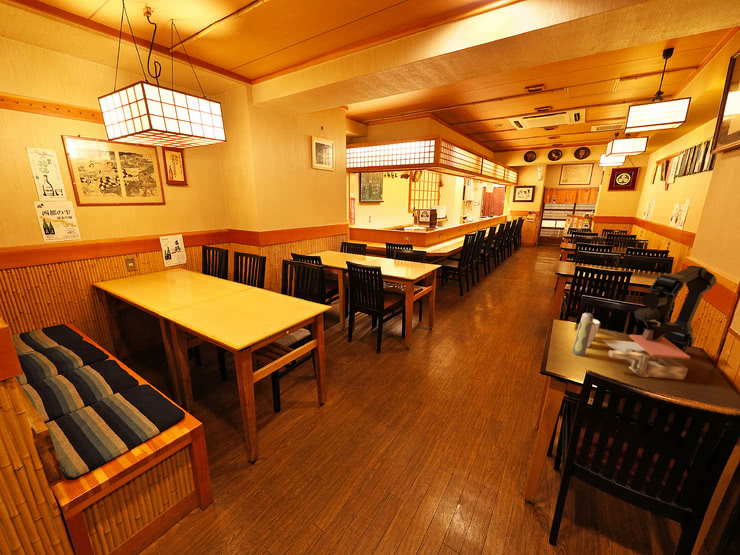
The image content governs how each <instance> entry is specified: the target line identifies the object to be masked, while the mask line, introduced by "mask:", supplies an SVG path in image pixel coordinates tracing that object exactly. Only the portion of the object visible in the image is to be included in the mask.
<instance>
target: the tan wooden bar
mask: <svg viewBox="0 0 740 555" xmlns="http://www.w3.org/2000/svg"><path fill="white" fill-rule="evenodd" d="M643 355H645V354H643V353H637V352H625V351H615V350H614V349H613V350H611V349H610V350H608V353H607V356H608V357H610V358H611V359H620V360H621V359H622V360H625V359H631V360H642V358H643ZM645 356H646V355H645Z"/></svg>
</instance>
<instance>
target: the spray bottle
mask: <svg viewBox="0 0 740 555" xmlns="http://www.w3.org/2000/svg"><path fill="white" fill-rule="evenodd" d="M593 319H594V316H593V314H592V313H590V312H584V313H582V315H581V318H580V321H579V323H580V325H579V324H578V326H579V328H578V327H577V330H578V332H577V331H576V334H577V336H576V335H575V338H576V339H574V343H573V347H572V353H573V354H575V355H576V356H579V357H582V356H585V355H586V351H587V348H588V347H587V343H588V339H589V335H590V331H591V327H592V323H593V322H592V321H593Z"/></svg>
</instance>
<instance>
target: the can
mask: <svg viewBox="0 0 740 555" xmlns="http://www.w3.org/2000/svg"><path fill="white" fill-rule="evenodd" d="M579 325H580V322H579V323H578V326H577V331H576V335H575V339H576V336H577V332H578V328H579ZM594 330H595V323H594V322H593V323H592V327H591V331H590V335H589V339H588V343H587V348H590V347H591V344H592V342H593V341H592V338H593V334H594ZM575 339H574V340H575Z"/></svg>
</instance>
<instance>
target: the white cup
mask: <svg viewBox="0 0 740 555" xmlns="http://www.w3.org/2000/svg"><path fill="white" fill-rule="evenodd" d="M592 322H594V323H595V330H594V334H593V338H592V341H591V342H593V341H594V340H595V338H596V336H597V333H598V329H599V327H600V324H601V322H600V321H599V320H598V319H595V318H593V321H592Z"/></svg>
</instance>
